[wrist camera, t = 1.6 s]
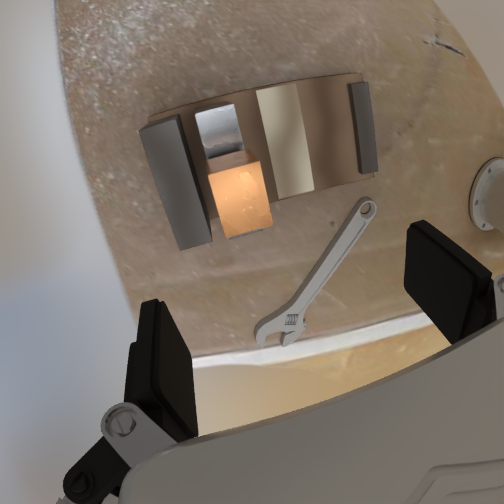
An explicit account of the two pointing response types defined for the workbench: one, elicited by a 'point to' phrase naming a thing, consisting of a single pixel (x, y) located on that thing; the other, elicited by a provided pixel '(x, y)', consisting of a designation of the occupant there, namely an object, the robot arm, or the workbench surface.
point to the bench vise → (265, 146)
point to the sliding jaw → (232, 172)
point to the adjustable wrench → (315, 279)
